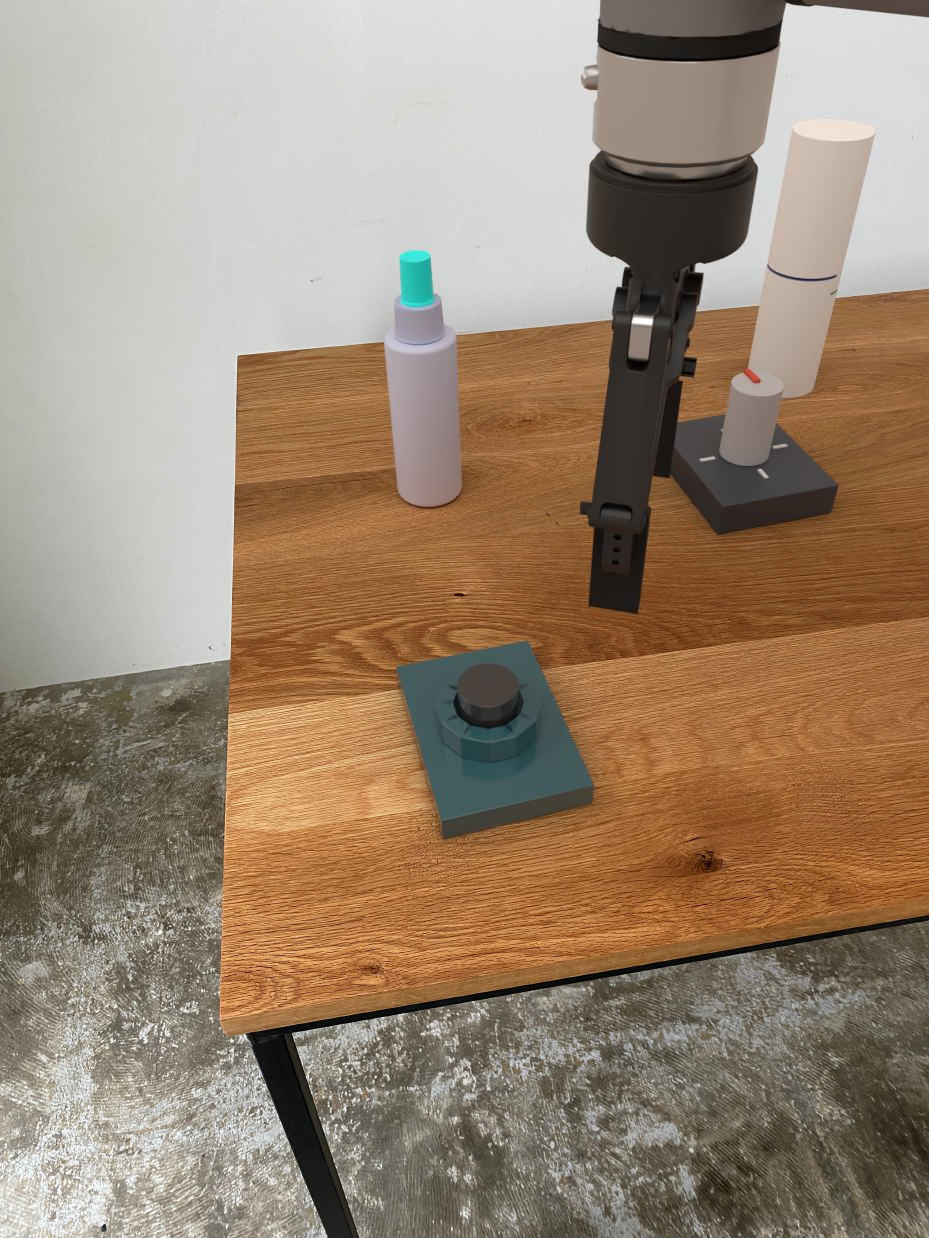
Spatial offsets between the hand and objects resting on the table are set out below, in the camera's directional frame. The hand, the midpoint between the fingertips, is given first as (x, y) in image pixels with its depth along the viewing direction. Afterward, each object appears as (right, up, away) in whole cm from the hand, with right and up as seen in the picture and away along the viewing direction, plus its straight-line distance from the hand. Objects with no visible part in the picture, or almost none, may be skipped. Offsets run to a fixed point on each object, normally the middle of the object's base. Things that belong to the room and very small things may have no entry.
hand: (632, 534), depth 56 cm
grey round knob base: (-8, -14, +9) cm, 18 cm away
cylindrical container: (+24, +20, +45) cm, 55 cm away
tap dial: (+15, +10, +29) cm, 35 cm away
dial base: (+15, +8, +31) cm, 36 cm away
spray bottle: (-13, +7, +32) cm, 35 cm away
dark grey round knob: (-9, -11, +6) cm, 15 cm away
